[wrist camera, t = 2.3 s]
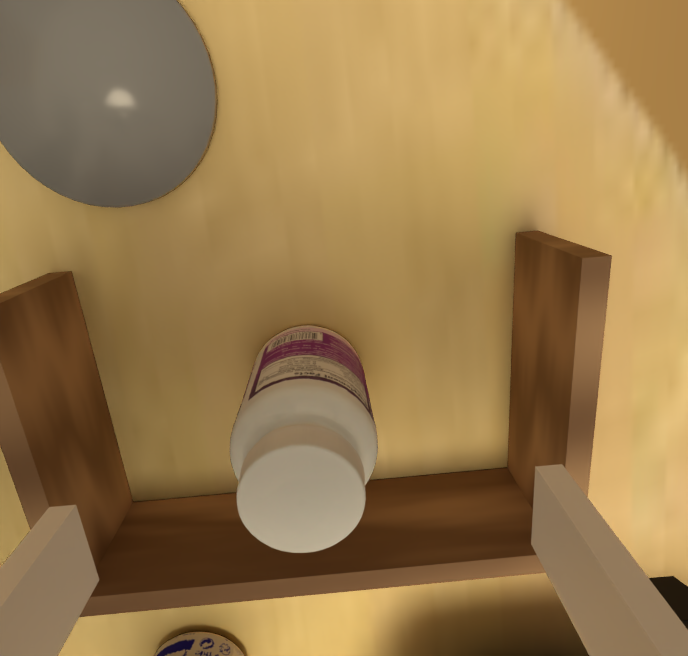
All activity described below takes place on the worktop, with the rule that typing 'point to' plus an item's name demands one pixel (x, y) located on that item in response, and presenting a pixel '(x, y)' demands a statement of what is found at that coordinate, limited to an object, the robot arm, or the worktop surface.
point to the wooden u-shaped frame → (381, 495)
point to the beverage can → (199, 646)
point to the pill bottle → (304, 441)
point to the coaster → (105, 96)
